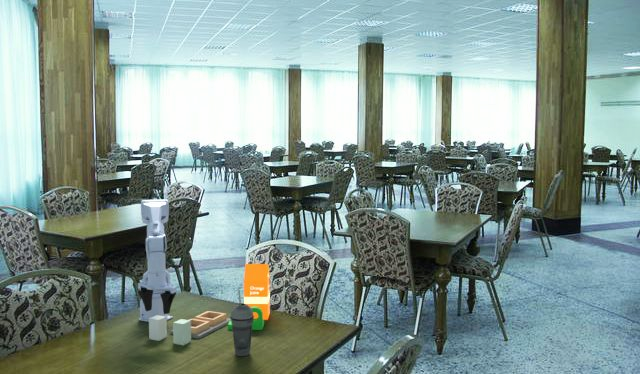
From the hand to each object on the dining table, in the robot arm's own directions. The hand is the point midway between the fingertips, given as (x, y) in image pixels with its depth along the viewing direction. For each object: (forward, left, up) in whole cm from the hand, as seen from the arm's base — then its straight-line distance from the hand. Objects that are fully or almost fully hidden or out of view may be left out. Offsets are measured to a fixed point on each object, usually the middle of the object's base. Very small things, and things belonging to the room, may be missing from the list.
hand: (157, 311), depth 192 cm
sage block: (+10, 0, -9) cm, 13 cm away
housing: (+7, +15, -9) cm, 19 cm away
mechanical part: (+21, +22, -9) cm, 32 cm away
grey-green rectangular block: (0, 0, -9) cm, 9 cm away
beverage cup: (+33, 0, -9) cm, 34 cm away
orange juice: (+18, +34, -9) cm, 40 cm away
